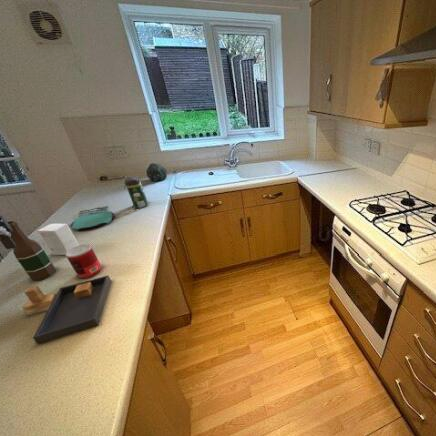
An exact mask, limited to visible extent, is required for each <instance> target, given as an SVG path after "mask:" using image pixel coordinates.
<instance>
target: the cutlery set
mask: <svg viewBox="0 0 436 436" xmlns="http://www.w3.org/2000/svg"><path fill="white" fill-rule="evenodd" d="M78 215H79V216H78V217H77V218H74V219H73V221H72V222H71V224H70V227H71V229H72V230H74V231H79V230H84V229H85V230H86V229H90V228H95V227H98V226H101V225H103V224H110V223H111V222H112V219H113V218H114V217H115V213H114V212H113V211H110V210H109V205H104V206H103V205H102V206H97V207H95V208H90V209H83V210H79V213H78Z"/></svg>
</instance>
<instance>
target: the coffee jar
mask: <svg viewBox="0 0 436 436" xmlns="http://www.w3.org/2000/svg"><path fill="white" fill-rule="evenodd" d="M124 184H125V185H124V186H125V187H126V190H127V192H128V194H129V197H130V199H131V202H132V205H133V207H134V208H135V209H141V208H145V207H147V206H148V204H149V202H148V199H147V197H146V194H145V191H144V188H143V184H142V182H141V180H140V177H138V176H136V175H133V176H128V177H126V178H125V180H124Z"/></svg>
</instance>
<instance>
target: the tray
mask: <svg viewBox="0 0 436 436" xmlns="http://www.w3.org/2000/svg"><path fill="white" fill-rule="evenodd" d="M88 282H91V284H92V286H93V287H94V289H93V291H92V294H91V295H90V296H87V297H83V298H79V299H77V298H76V296H75V295H74V291H75V289H76V287H77V285H81V284H84V283H88ZM111 284H112V279H111V278H110V275H104V276H100V277H97V278H92V279H89V280H85V281H82V282H77V283H73V284H70V285H66V286H62V287H60V288H59V290H58V291H57V293H56V296H55V298H54V300H53V302H52V304H51V306H50V307H49V309H48V310H46V313H45V315H44V317H43V318H42V320H41V322H40V324H39V326H38V327H37V329H36V331H35V332H34V335H33V336H32V340H34V341H35V343H36V344H37V345H42V344H44V343H47V342H51V341H54V340H57V339H60V338H63V337H67V336H70V335H73V334H76V333H79V332H82V331H85V330H88V329H92V328H94V327H97V326H99V324H100V322H101V318H102V314H103V311H104V307H105V304H106V302H107V298H108V294H109V290H110V287H111Z"/></svg>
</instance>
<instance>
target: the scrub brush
mask: <svg viewBox="0 0 436 436" xmlns="http://www.w3.org/2000/svg"><path fill="white" fill-rule="evenodd" d="M24 294H25V296H26V297H27V298H28V299H27V301H26V302H25V303H24V305H23V307H22V309H23V311H24V312H25V313H26V314H27V315H28V316H32V315H36V314H39V313H42V312H47V311H48V309H49V307H50V306H51V304H52V302H53V300H54V298H55V296H56V295H57V293H56V292H51V293H47V294H44V292H43V291H42V290H41V288H40V287H39V286H38V284H37V285H32V286H29V287H27V288H26V290H24Z"/></svg>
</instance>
